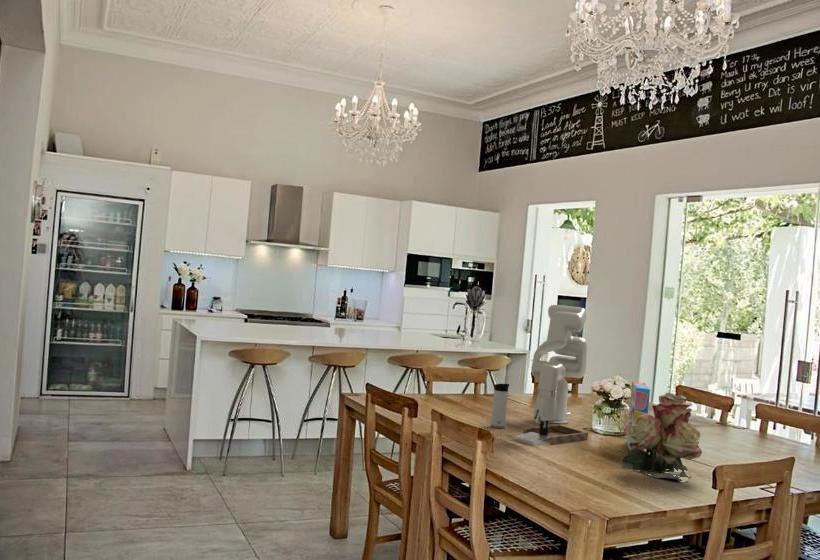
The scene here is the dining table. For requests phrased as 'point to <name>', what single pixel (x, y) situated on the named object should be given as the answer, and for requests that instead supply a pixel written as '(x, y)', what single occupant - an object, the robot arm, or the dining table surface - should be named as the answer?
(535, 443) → the cover plate
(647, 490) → the dining table surface
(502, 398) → the travel mug
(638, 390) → the game box
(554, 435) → the tray
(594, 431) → the dining table surface
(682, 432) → the rose bouquet
